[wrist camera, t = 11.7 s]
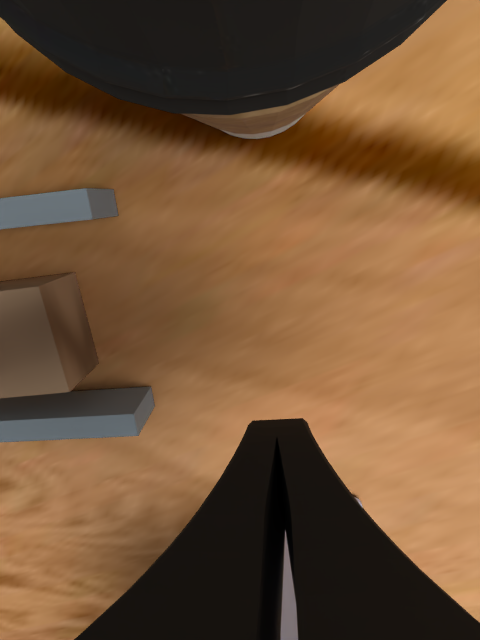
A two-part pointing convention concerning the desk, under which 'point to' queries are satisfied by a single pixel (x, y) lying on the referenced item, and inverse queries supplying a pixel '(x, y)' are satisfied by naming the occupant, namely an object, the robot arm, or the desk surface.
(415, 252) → the desk surface
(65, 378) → the walnut block
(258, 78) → the coffee cup
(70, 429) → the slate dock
